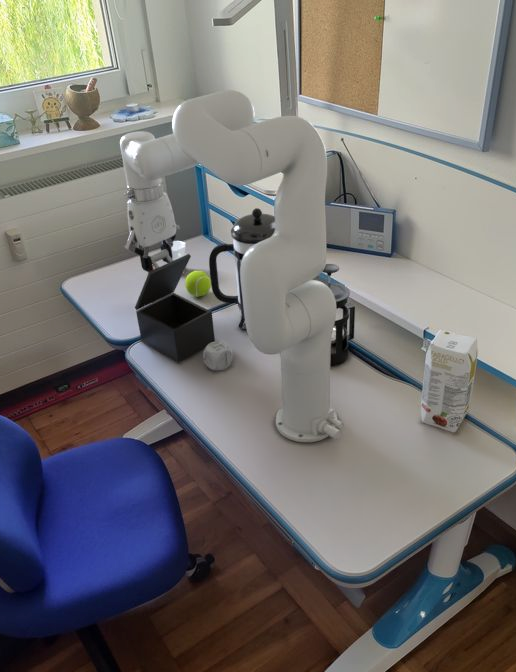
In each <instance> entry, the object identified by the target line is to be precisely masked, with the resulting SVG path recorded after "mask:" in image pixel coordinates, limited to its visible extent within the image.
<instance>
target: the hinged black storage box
mask: <svg viewBox="0 0 516 672" xmlns="http://www.w3.org/2000/svg"><path fill="white" fill-rule="evenodd" d="M135 313H136V318H137V323H138V329H139V336H140V341H141V342H142V343H144V344H146V345H147V346H149V347H151V348H152V349H154V350H156V351H157V352H159V353H161V354H162V355H164V356H166V357H167V358H169V359H171V360H172V361H174V362H175V363H177V364H179V363H182V362H183V361H185V360H187V359H189V358H190V357H192V356H194V355H195V354H196V355H197V354H198V353H199V352H201V351H202V350H203V351H204V349H205V347H206V346H207V345H208V344H209V343H211V342H215V341H216V339H215V338H216V337H215V329H214V319H213V311H211V310H210V309H208V308H205V307H204V306H201V305H199V304H197V303H195V302H193V301H192V300H189V299H187V298H186V297H183V296H181V295H179V294H177V293H175V292H173V293H172V294H169V295H167V296H165V297H163V298H161V299H159V300H157V301H155V302H153V303H150V304H148V305H146V306H144V307H142V308H140V309H138V310H136V311H135Z"/></svg>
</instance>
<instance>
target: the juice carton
mask: <svg viewBox="0 0 516 672" xmlns="http://www.w3.org/2000/svg"><path fill="white" fill-rule="evenodd" d="M478 347H479V346H478V337H475V336H469V335H462V334H457V333H455V332H452V331H449V330H447V329H444V328H441V329H440V330H438V331H437V334H436V335H435V337H434V338H433V339H432V340H431V341H430V342H429V345H428V348H427V351H426V354H425V363H424V372H423V383H422V389H421V400H420V416H421V417H420V419H421V422H422V423H424V424H425V425H426V424H427V425H429V426H433V427H436V428H440V429H443V430H444V431H447V432H451V433H456V432H457V430H459V427H460V425H462V422H463V420H464V419H465V417H466V415H467V413H468V412H469V410H470V405H471V400H472V393H473V387H474V381H475V380H474V379H475V376H476V375H475V374H476V368H477V363H478V362H477V361H478V355H479V349H478Z"/></svg>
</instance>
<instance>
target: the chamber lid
mask: <svg viewBox="0 0 516 672" xmlns="http://www.w3.org/2000/svg"><path fill="white" fill-rule="evenodd" d="M149 256H150V257H151V261H152V265H153V266H154V268H156V269H154V270H152V271H150V272H149V273H148V272H147V276H146V278H145V281H144V283H143V286H142V289H141V291H140V294H139V295H138V299H137V300H136V304H135V306H134V309H135V310H136V311H137V310H139V309H141V308H143V307H145V306H147V305H149V304H151V303H152V302H154V301H156V300H158V299H161V298H163V297H165V296H167V295H169V294H171V293H175V290H176V288H177V286H178V284H179V282H180V280H181V278H182V276H183V274H184V273H185V271H184V270H186V267H187V265H188V263H189V261H190V259H191V257H192V256H191V254H190V253H187V254H185V256H183V257H181V258H179V259H176V260H174V261H173V260H172V259H171V257H170V256H169V252H168V251H167V250H166V249H164V250H162V251H161V250H160V251H157V252H155V253H153V254H151V255H149ZM164 258H166V259H167V260H168V261H169V262H170V263H167V262H166V263H165V264H163V265H161V266H160V265H159V264H158V262H159V261H161V260H162V259H164ZM183 272H184V273H183Z"/></svg>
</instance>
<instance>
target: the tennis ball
mask: <svg viewBox="0 0 516 672" xmlns="http://www.w3.org/2000/svg"><path fill="white" fill-rule="evenodd" d="M184 285H185V289H186V291H187V292H188V293H189V294H190V296H193V297H196V298H197V297H203V296H206V294H208V293H209V292H210V290H211V288H212V286H211V278H210V275H209V274H208V273H206V272H205V271H203V270H193V271H192V272H190V273H189V274H188V275H187V276H186V278H185V281H184Z"/></svg>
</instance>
